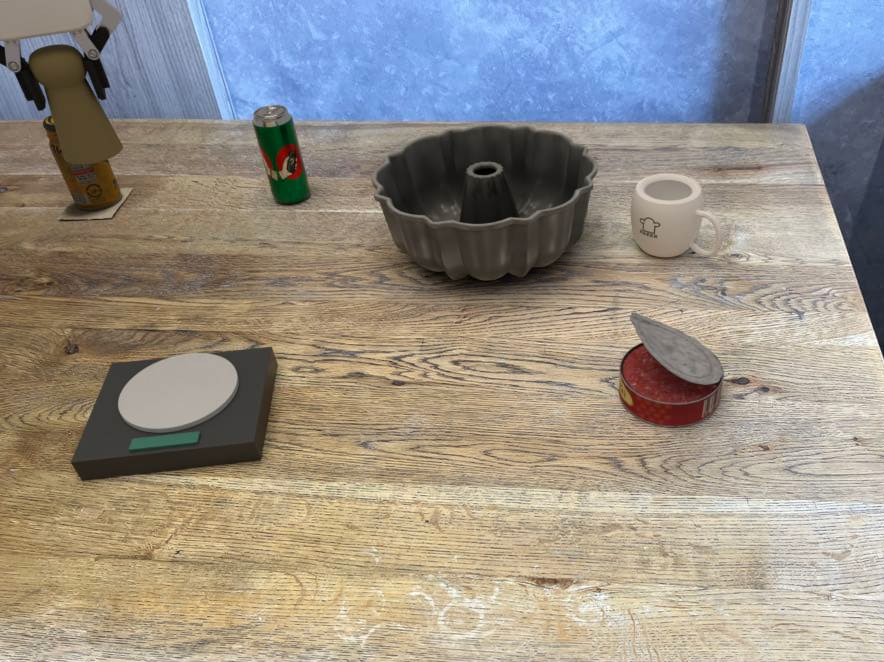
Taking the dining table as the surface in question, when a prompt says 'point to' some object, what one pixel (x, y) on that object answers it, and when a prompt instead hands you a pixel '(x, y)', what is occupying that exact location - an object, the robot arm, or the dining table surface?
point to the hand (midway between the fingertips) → (71, 99)
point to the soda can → (281, 154)
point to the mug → (670, 215)
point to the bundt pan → (486, 198)
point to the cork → (74, 105)
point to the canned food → (669, 376)
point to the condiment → (86, 184)
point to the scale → (178, 414)
